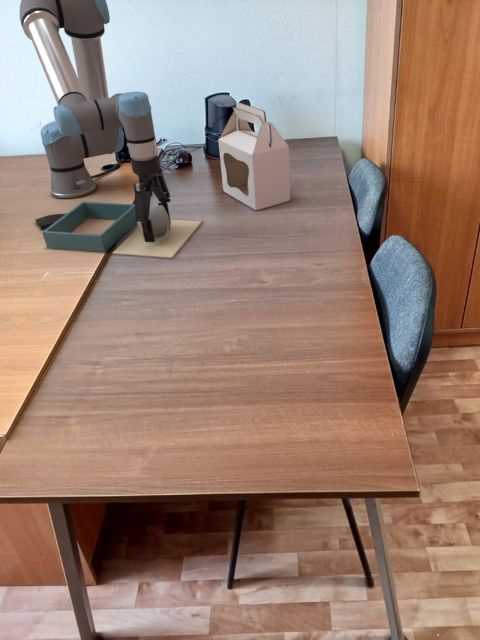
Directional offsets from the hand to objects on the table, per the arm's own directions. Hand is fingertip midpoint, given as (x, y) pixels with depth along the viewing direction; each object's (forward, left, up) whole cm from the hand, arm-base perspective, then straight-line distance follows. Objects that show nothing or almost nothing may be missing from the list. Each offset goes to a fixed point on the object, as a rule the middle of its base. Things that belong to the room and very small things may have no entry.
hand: (158, 232), depth 155 cm
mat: (0, 0, -2) cm, 2 cm away
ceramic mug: (0, 0, -1) cm, 1 cm away
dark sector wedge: (-6, -38, -2) cm, 39 cm away
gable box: (-35, +20, -2) cm, 40 cm away
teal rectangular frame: (0, -21, -2) cm, 21 cm away
